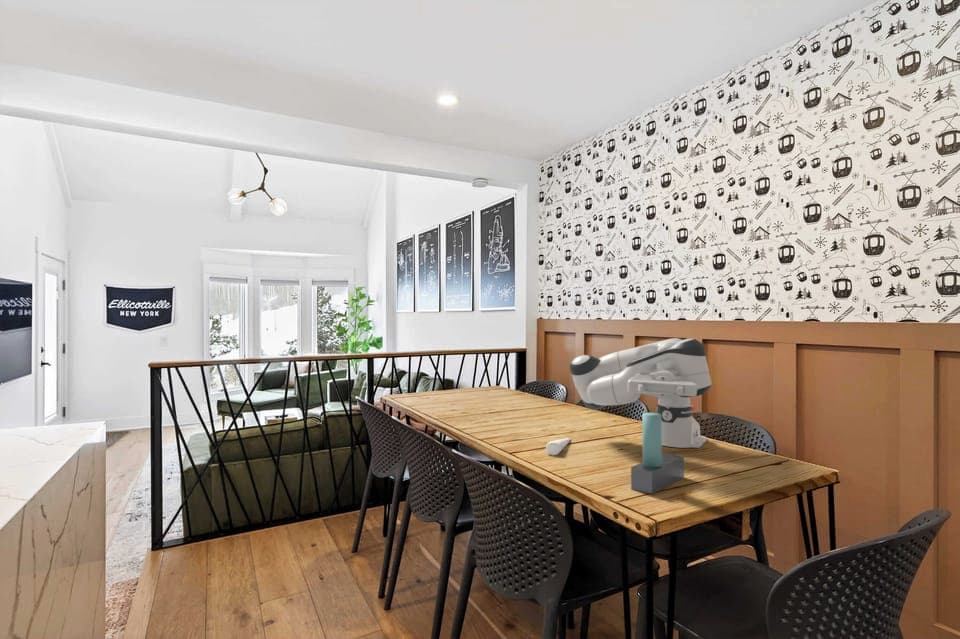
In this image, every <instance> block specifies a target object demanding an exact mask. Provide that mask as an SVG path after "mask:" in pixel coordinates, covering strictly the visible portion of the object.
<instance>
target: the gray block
mask: <svg viewBox="0 0 960 639" xmlns="http://www.w3.org/2000/svg"><path fill="white" fill-rule="evenodd" d="M630 470H631V471H630V487H631V490H633V489H634V491H637V490H638V492H641V493H644V492H645V493H646V494H648V495H654V494H656V493H658V492H659V491H661V490H663V489H665V488H667V487H669V486H670V485H672V484H674V483H677V482H678V481H680V480H682V479H685V456H681V455H677V454H672V453H666V452H662V466H661V467H657V468H653V467H647V466H644V465H643V461H642V462H640V463H638V464H636V465H633V466H631V467H630ZM645 493H644V494H645Z"/></svg>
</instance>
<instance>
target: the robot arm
mask: <svg viewBox="0 0 960 639" xmlns="http://www.w3.org/2000/svg"><path fill="white" fill-rule="evenodd" d="M706 355H707V353H706V346H705V344H703V343H702V342H701V341H699V340H698V339H696V338H687V339H681V338H676V337H673V338H667V339H665V340H660V341H655V342H651V343H648V344H647V343H646V344H644V345H639V346H635V347H631V348H628V349H623V350H619V351H615V352H612V353H609V354H608V353H607V354H606V355H602V356H600V357H596V356H593V355H589V354H582V355H579V356H575V357H574V358H573V359H572V360H571V362H570V363H569V370H570V374H571V376H572V380H573V383H574V386H575V388H576V390H577V393H578V394H579V396H580V398H581V399H582V400H581V401H582V402H583V405H585V407H586V408H588V410H589V409H590V410H593V411H594V410H595V411H596V410H597V411H598V410H601V409H603V408H605V407H606V406H620V405H626V404H630V403H631V404H632V403H633V402H636V401H637V400H638V399H640V397H641V395H645V396H650V397H653V398H658V399H657V400H658V402H657V405H656V413H658V414H661V432H662V447H663V446H664V447H669V448H670V447H671V448H679V449H680V448H681V449H682V448H684V449H685V448H686V449H687V448H694V449H695V448H696V449H699V448H701V447H702V446H703V445H704V444H705V443H706V441H707V440H708V438H707V437H706V436H704V435H701V426H700V424H699V423H698V421H697V420H696V419H695V418H694V416H693V412H694V411H695V406H694V405H691V398H694V397H699V396H701V395H704V394H707V392H708V391H709V390H710V389H711V387H712V385H713V384H712V379H711V378H712V377H711V375H710V370H709V364H708V361H707V360H708V359H707V356H706Z"/></svg>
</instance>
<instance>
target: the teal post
mask: <svg viewBox="0 0 960 639" xmlns="http://www.w3.org/2000/svg"><path fill="white" fill-rule="evenodd" d="M641 416H642V417H641V418H642V420H641V424H642V425H641V426H642V427H641V428H642V430H641V432H642V434H641V435H642V437H641V438H642V462H643V465H644V466H647V467H653V468H657V467H661V466H662V454H663V452H662V451H663V450H662V447H663V445H662V432H661V414H658V413H657V412H643V413H642V415H641Z"/></svg>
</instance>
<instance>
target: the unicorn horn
mask: <svg viewBox="0 0 960 639" xmlns="http://www.w3.org/2000/svg"><path fill="white" fill-rule="evenodd" d="M570 441H571V438H569V437H568V438H561V439H556V440H551V441H549V442H548V443H546V446H545V448H546V449H545V450H546V453H547V454H548V455H550V456H554V455H556V456H557V455H559V454H560V453H561V451H562V450H564V449H565V447H566V446H567V445H568V444H569V442H570Z"/></svg>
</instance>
